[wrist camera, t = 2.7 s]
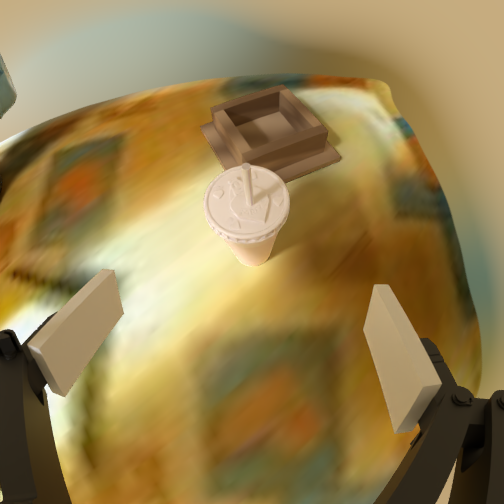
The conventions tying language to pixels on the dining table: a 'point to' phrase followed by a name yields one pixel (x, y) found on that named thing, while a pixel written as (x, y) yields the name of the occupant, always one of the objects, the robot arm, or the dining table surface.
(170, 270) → the dining table surface
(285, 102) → the box
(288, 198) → the smoothie
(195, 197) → the dining table surface
